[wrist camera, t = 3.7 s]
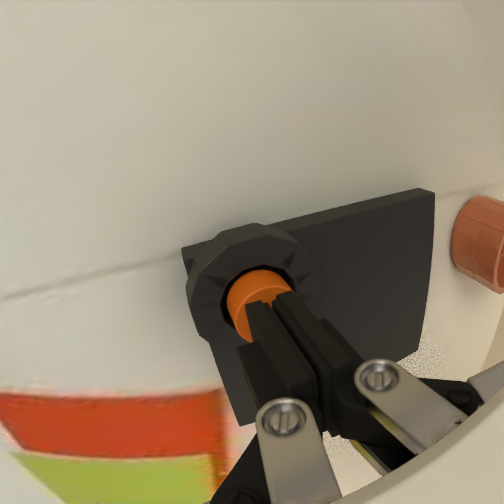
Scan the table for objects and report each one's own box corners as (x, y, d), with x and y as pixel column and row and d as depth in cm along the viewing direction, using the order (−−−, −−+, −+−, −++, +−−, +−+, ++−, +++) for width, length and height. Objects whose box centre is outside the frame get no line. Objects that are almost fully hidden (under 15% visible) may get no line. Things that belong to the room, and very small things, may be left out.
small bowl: (466, 181, 18) (516, 197, 13) (496, 209, 20) (537, 225, 16) (437, 261, 19) (483, 287, 15) (471, 275, 21) (509, 298, 17)
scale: (171, 233, 13) (173, 258, 11) (418, 175, 16) (455, 185, 13) (231, 412, 19) (242, 447, 16) (407, 340, 21) (430, 362, 18)
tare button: (219, 279, 12) (228, 298, 11) (282, 261, 12) (298, 277, 11) (233, 331, 13) (242, 353, 12) (290, 313, 13) (304, 332, 12)
